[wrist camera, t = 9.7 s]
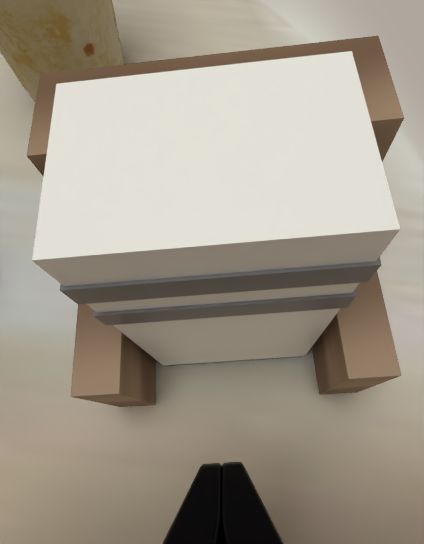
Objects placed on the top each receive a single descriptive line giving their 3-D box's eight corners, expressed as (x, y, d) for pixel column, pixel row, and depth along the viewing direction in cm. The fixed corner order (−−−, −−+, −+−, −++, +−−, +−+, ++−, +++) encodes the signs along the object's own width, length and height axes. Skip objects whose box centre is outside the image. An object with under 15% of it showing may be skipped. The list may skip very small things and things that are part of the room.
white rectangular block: (307, 357, 16) (406, 233, 6) (161, 367, 17) (26, 264, 6) (294, 266, 18) (355, 48, 8) (161, 276, 18) (52, 81, 8)
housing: (356, 392, 16) (476, 347, 8) (120, 406, 16) (-10, 379, 8) (321, 206, 19) (378, 35, 11) (126, 224, 20) (40, 73, 12)
